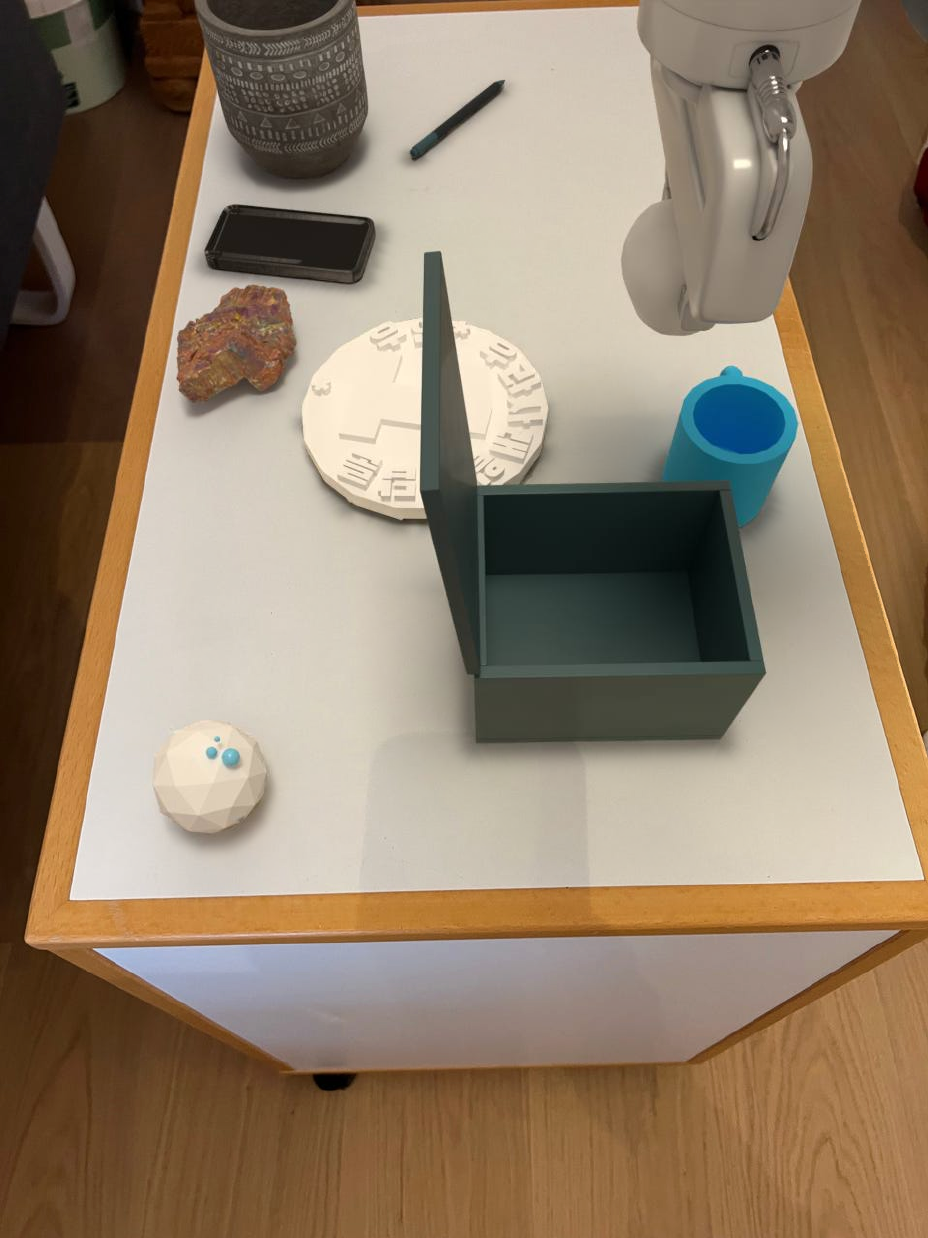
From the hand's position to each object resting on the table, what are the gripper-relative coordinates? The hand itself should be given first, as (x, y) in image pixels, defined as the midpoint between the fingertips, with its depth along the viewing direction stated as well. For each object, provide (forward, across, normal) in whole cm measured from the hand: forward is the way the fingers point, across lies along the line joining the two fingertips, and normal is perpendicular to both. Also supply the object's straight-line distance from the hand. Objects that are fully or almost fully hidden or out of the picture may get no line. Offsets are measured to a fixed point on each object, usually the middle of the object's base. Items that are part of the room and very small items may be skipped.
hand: (685, 266), depth 48 cm
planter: (+22, +45, +30) cm, 59 cm away
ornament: (+23, -23, +29) cm, 43 cm away
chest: (+23, -12, +4) cm, 26 cm away
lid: (+3, -13, +12) cm, 18 cm away
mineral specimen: (+23, +15, +32) cm, 42 cm away
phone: (+22, +30, +29) cm, 48 cm away
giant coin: (+23, +8, +16) cm, 29 cm away
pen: (+23, +50, +14) cm, 56 cm away
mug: (+23, +4, -7) cm, 24 cm away
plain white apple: (+3, 0, 0) cm, 3 cm away
